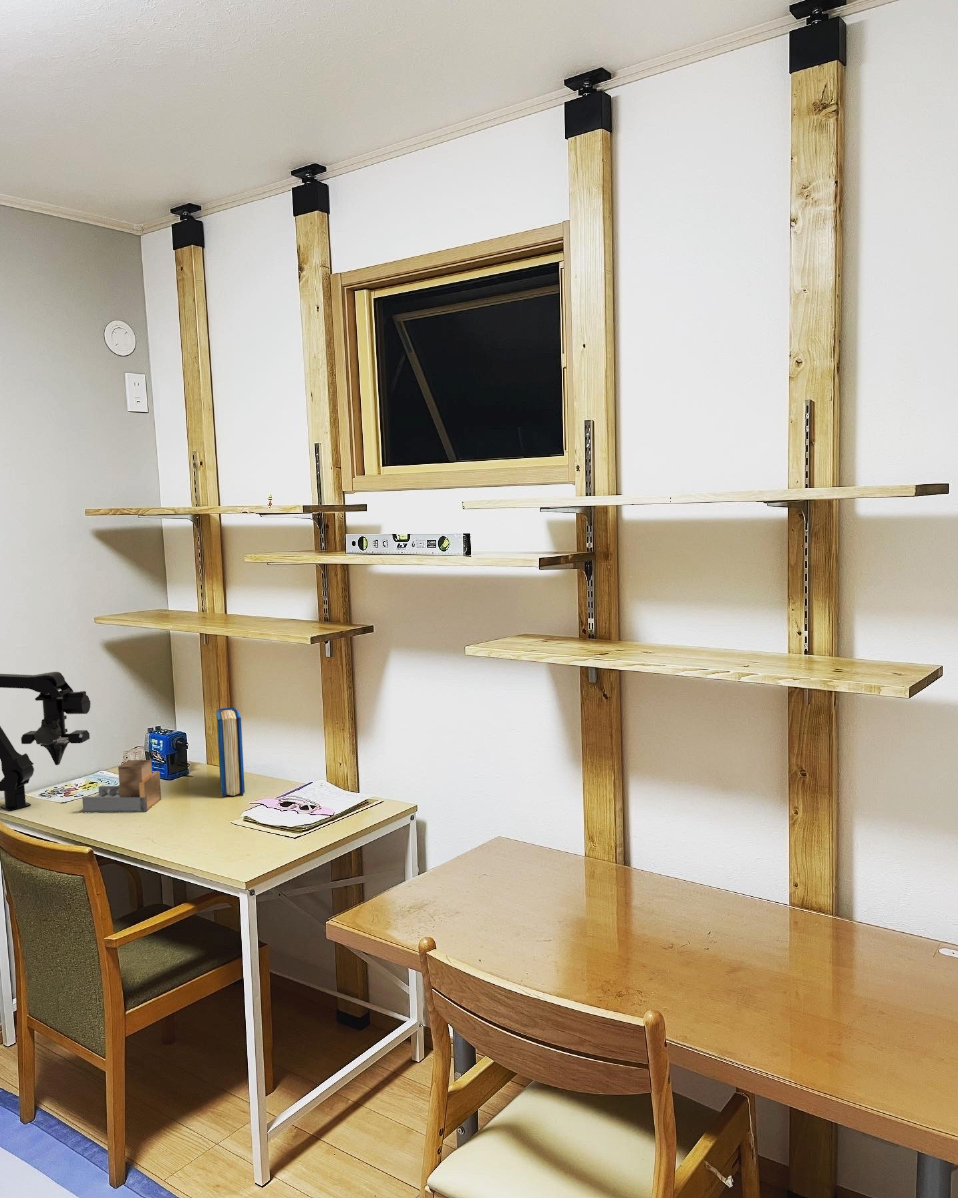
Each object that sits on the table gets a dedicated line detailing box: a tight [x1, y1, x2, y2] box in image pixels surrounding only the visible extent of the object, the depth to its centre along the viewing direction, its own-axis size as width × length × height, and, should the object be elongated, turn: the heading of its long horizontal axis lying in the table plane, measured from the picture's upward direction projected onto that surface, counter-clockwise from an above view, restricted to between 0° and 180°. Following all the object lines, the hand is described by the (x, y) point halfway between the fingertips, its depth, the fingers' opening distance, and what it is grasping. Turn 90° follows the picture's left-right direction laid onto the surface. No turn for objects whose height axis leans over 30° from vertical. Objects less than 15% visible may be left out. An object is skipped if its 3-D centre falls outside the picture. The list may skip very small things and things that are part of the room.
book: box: [216, 707, 246, 797], centre depth 305 cm, size 22×7×25 cm, turn 17°
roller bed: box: [82, 770, 162, 814], centre depth 290 cm, size 19×12×9 cm, turn 87°
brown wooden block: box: [117, 759, 153, 796], centre depth 289 cm, size 7×8×10 cm
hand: (57, 764), depth 290 cm, fingers closed
